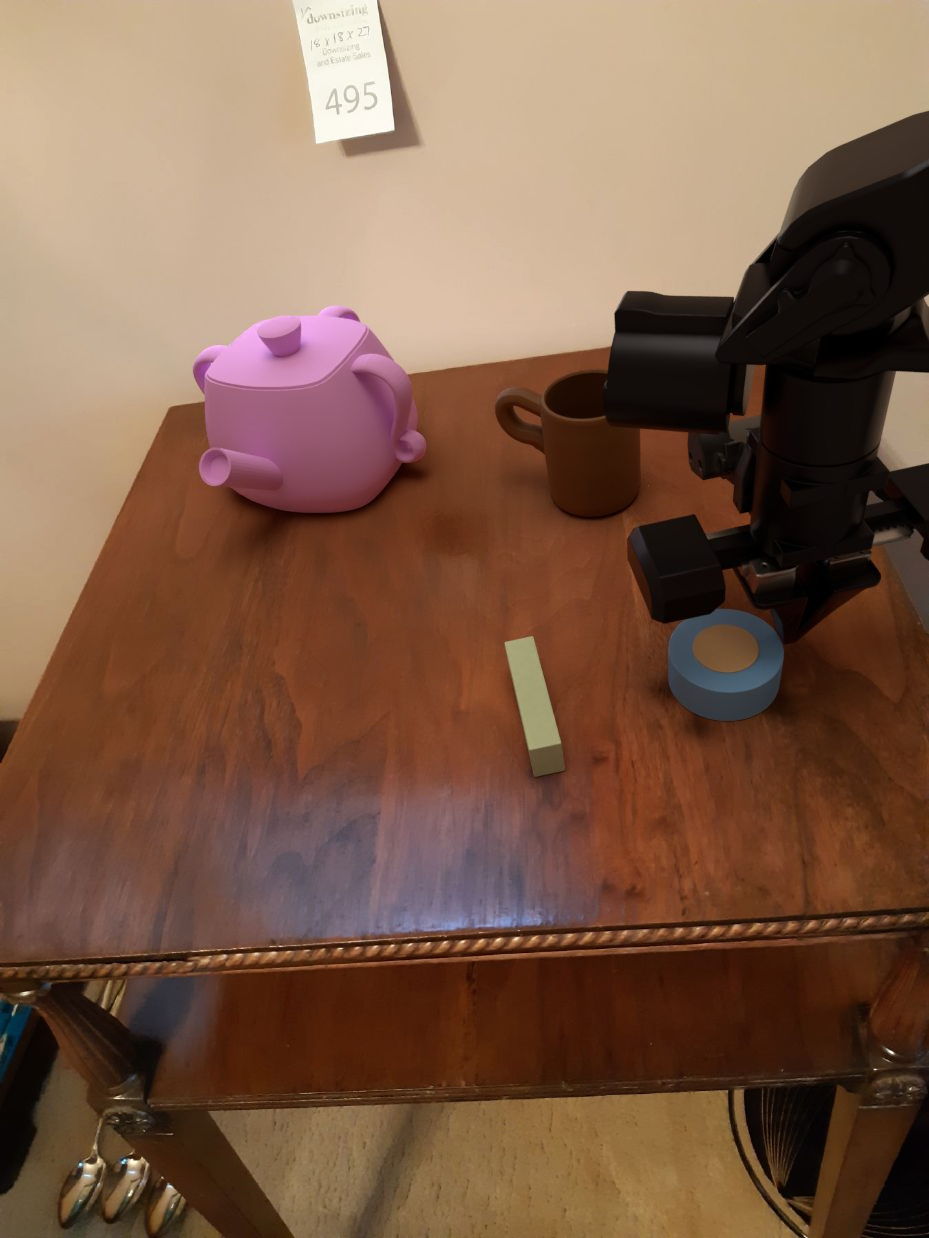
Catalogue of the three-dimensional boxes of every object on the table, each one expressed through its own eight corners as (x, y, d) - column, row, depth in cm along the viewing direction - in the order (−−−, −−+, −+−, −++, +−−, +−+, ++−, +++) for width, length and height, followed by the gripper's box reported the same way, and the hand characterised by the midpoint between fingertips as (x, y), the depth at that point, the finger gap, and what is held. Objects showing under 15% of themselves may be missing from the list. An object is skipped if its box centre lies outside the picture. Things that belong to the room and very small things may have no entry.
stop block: (537, 664, 59) (533, 635, 56) (565, 770, 52) (561, 743, 50) (509, 670, 59) (504, 641, 56) (534, 777, 52) (528, 750, 50)
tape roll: (755, 629, 57) (759, 598, 55) (797, 708, 53) (803, 677, 50) (655, 650, 58) (654, 620, 55) (687, 731, 53) (688, 701, 51)
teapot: (398, 388, 87) (363, 251, 77) (455, 499, 73) (421, 349, 63) (221, 444, 86) (161, 312, 75) (243, 570, 71) (172, 427, 61)
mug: (488, 503, 72) (470, 409, 65) (523, 451, 76) (510, 358, 69) (623, 527, 67) (619, 428, 60) (653, 470, 71) (652, 371, 64)
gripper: (922, 318, 47) (872, 527, 58) (597, 390, 48) (610, 584, 59) (1042, 425, 40) (959, 643, 51) (653, 510, 40) (655, 706, 51)
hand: (786, 638), depth 53 cm, fingers closed
